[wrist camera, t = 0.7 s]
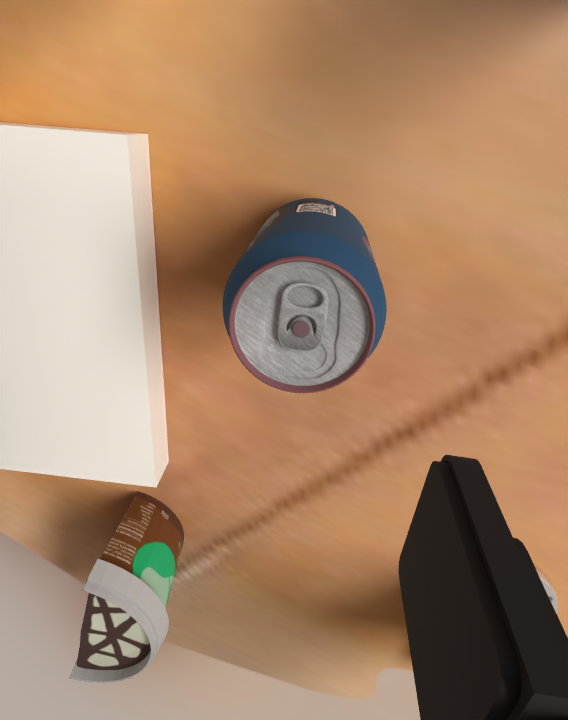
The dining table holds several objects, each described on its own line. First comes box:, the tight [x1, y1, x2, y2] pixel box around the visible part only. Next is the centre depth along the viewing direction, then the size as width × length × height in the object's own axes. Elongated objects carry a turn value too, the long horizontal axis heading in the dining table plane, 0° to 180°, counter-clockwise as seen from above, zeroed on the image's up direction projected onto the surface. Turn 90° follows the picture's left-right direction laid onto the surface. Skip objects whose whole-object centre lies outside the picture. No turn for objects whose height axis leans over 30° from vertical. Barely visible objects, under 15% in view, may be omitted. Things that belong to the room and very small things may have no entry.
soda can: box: [223, 198, 386, 393], centre depth 23 cm, size 7×7×12 cm
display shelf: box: [0, 122, 169, 487], centre depth 29 cm, size 24×14×6 cm, turn 176°
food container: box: [69, 492, 184, 683], centre depth 37 cm, size 12×6×10 cm, turn 163°
